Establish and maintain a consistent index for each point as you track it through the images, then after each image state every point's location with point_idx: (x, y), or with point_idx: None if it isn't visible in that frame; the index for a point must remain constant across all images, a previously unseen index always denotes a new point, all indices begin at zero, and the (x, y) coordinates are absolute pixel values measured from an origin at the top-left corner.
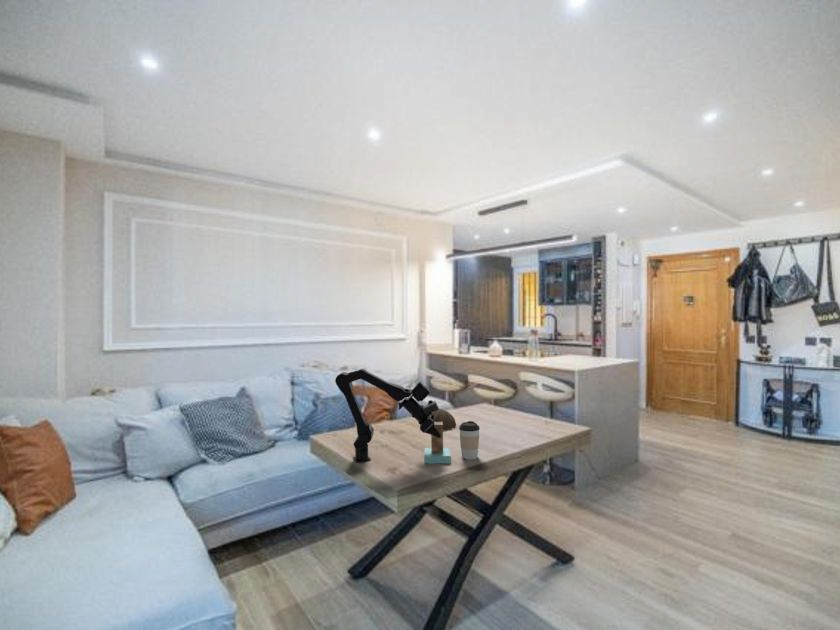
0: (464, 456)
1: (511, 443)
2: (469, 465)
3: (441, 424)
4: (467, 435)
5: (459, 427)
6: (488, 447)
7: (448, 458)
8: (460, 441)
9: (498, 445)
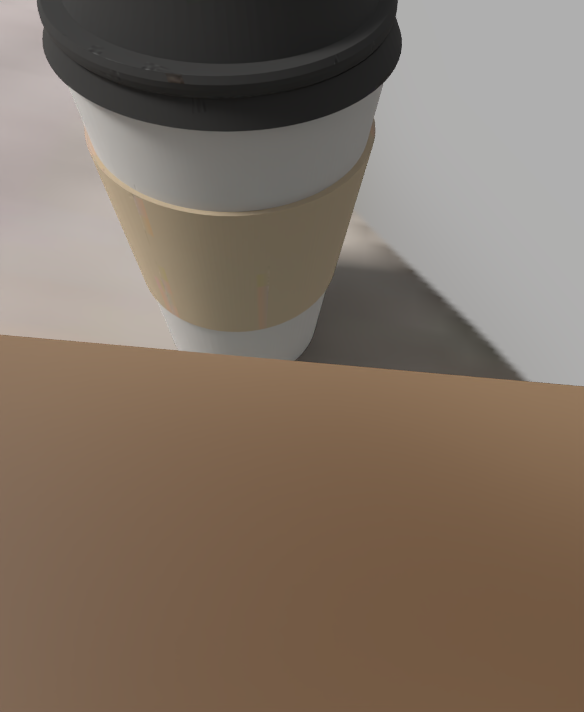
0: (291, 354)
1: (17, 38)
2: (474, 357)
3: (533, 444)
4: (367, 133)
5: (181, 103)
6: (42, 153)
7: None
8: (238, 285)
9: (24, 97)
